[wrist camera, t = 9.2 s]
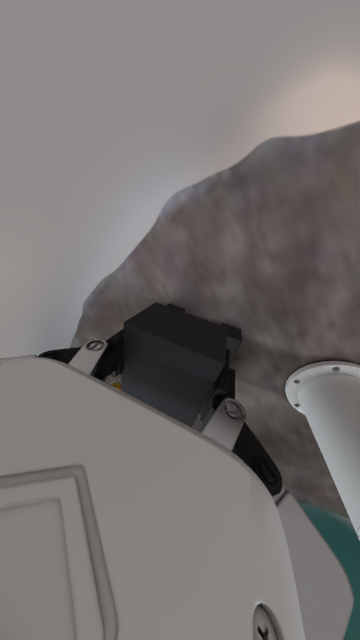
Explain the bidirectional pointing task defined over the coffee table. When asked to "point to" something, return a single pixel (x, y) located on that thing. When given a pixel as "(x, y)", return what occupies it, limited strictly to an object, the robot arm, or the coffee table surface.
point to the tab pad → (171, 360)
